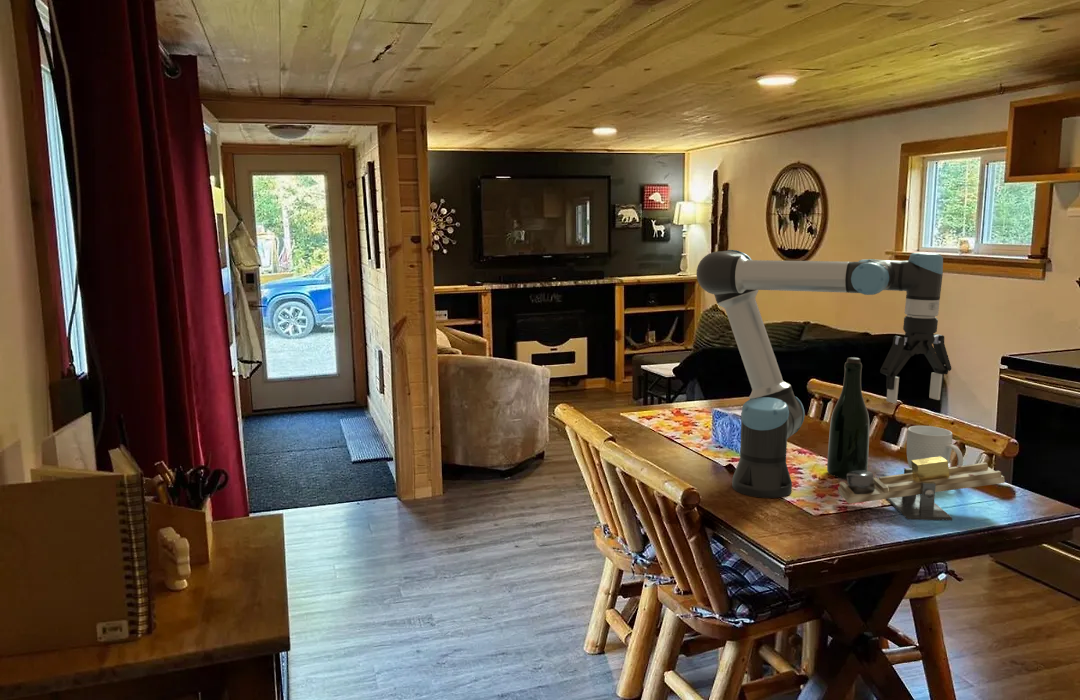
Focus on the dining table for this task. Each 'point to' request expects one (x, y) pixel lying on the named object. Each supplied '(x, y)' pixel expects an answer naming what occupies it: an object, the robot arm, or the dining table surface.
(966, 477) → the beam
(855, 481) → the counterweight
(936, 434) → the mug
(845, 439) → the green wine bottle
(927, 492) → the stand
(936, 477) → the rider
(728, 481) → the dining table surface
